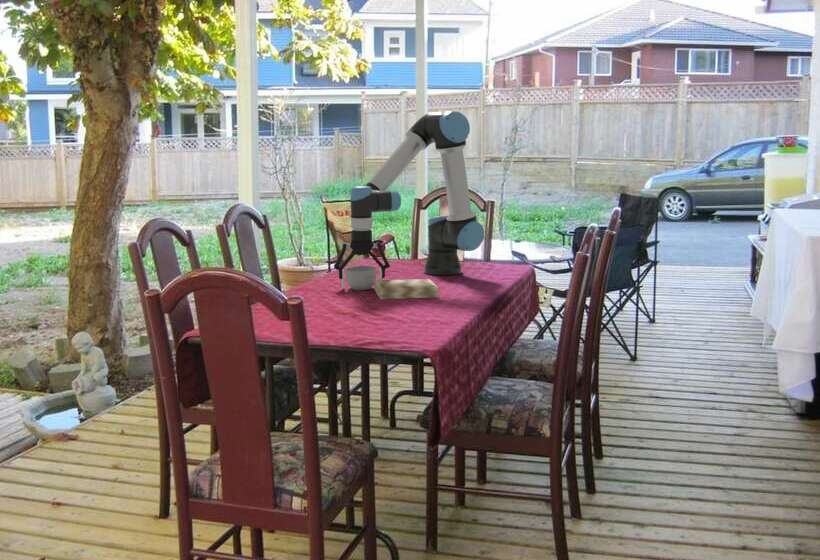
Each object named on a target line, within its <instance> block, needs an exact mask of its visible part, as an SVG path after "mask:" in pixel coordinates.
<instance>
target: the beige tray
mask: <svg viewBox="0 0 820 560" xmlns="http://www.w3.org/2000/svg"><path fill="white" fill-rule="evenodd" d="M374 292H375V293H376V294H377V296H378V298H379V299H380V300H392V299H393V300H395V299H398V300H399V299H424V298H425V299H428V298H434V299H435V298H439V287H438V285H437V284H436V283H435V282H434V281H432V280H431V279H430V278H422V279H420V278H419V279H418V278H417V279H413V278H411V279H388V280H387V279H386V280H385V279H382V280H379V279H378V280H376V281H375V284H374Z"/></svg>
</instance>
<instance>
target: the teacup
mask: <svg viewBox="0 0 820 560" xmlns="http://www.w3.org/2000/svg"><path fill="white" fill-rule="evenodd" d="M376 267H377V266H375V265H362V264H361V265H356V266H350V267H346V268H345V272H346V273H345V275H346V281H347V285H348V287H349V288H351V289H352V290H353V291H367V290H370V289H372V288H373V287H375V281H377V272H376Z"/></svg>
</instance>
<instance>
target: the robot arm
mask: <svg viewBox="0 0 820 560" xmlns="http://www.w3.org/2000/svg"><path fill="white" fill-rule="evenodd" d="M470 126H471V125H470V123H469V120H468V118H467V116H466V115H465V114H463V113H462V112H460V111H458V110H442V111H439V110H438V111H436V110H435V111H434V110H433V111H429V112H428V113H426V114H424V115H422V116H421V117H420V118H419V119H418V120H417V121H416V122H415V123H414V124H413V125H412V126H411V127H410V128H409V129H408V131H407V132H406V133H405V138H404V139H403V140H402V141H401V143H400V144H399V145H398V146H397V147H396V149H395V150H394V151H393V152H392V153H391V154H390V156H389V157H388V158H387V159H386V161H384V163H383V164H382V165H381V166H380V168H379V169H378V170H377V171H376V172H375V173H374V175H372V177H371V178H370V180H368V181H367V183H366V184H365V185H363V186H359V185H356V186H352V187H350V188H351V189H350V196H349V197H350V199H349V200H350V229H352V230H351V231H350V243H346V242H342V245H341V246H342V247H341V250H340V251H339V254H338V256H337V259H336V261H335V263H334V264H333V268H334V269H335V270H338V278H339V280H341V288H342V290H343V289H344V290H345V289H346V287H345V285H346V284H345V283H346V278H345V275H346V273H345V272H346V270H344V268H345V267H346V266H347V265H348V264H349V262H350V261H351V260H352V259H353V257H355V256H367V255H369V256H370V257H371V258H372V259H373V260H374V261H375V263H377V265H378V266H379V267H380V268H379V269H378V280H383V279H385V278H386V269H389V268H390V267H391V264H390V263H389V261H388V259H387V257H386V256H385V252H384V251H383V249H382V244H381V243H380V241H377V242H373V231H372V230H371V229H372V228H373V223H372V221H373V220H372V219H373V218H372V214H373V213H384V212H387V213H388V212H390V213H391V212H396V211H398V210H399V209H400V208H401V205H402V197H401V194H400V192H398V191H396V190H389V189H390V187H391V186H392V185H393V183H395V181H396V180H397V179H398V178H399V177H400V176H401V174H402V173H403V172H404V171H405V170H406V168H407V167H408V166H409V165H410V164H411V162H412V161H414V159H415V158H416V157H417V156H418V154H419V153H420V152H421V151H425V150H426V149H427V148H428V147H429V146H430V145H431V144H433V143H434V146H435V150H437V152H439V153H440V158H441V164H442V171H443V173H442V174H443V178H444V179H443V180H444V185H445V192H446V198H447V199H446V200H447V206H448V212H449V213H448V215H439V216H431V217H430V218H429V220H428V226H427V229H428V235H427V237H428V253H427V257H426V260H425V262H424V263H425V264H424V266H423V271H424V272H423V273H424V274H427V275H435V276H453V275H454V276H455V275H458V274H462V265H461V261H460V258H459V256H458V251H462V252H473V251H475V250H477V249H478V248H479V247H481V245H482V243H483V241H484V238H485V228H484V227H483V226H484V225H482V224H481V223H480V222H478V221H477V220H478V219H477V215H476V213H475V212H474V211H473V210H472V204H471V198H470V191H469V190H470V189H469V184H468V183H469V182H468V176H467V171H466V163H465V155H464V149H465V147H466V146H467V142H466V140H467V138H468V137H469V134H470V133H471V132H470V131H471V127H470ZM373 247H374V248H375V249H377V250H378V251H377V252H378V253H379V256H380V257H381V259H382V261H383V262H384V264H383V263H382V262H381V261H380V260H379V259H378V258H377V256H376V255H375V254H374V253H373V251H372V249H373ZM349 248H350V249H351V252H350V253H349V254H348V255H347V256H346V258H345V259H344V260H343V261H342V259H343V257H344V255H345V253H346V250H348V249H349ZM341 261H342V263H341Z"/></svg>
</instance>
